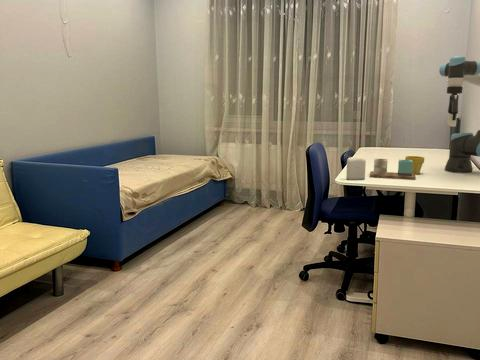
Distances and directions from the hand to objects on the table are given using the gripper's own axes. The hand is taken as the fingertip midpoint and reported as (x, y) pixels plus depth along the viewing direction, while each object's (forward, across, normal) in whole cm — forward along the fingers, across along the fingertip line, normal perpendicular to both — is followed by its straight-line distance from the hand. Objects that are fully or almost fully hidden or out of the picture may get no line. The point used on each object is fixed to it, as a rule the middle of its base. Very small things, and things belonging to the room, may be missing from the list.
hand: (451, 125), depth 240 cm
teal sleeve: (+27, +8, -22) cm, 36 cm away
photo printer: (+29, +22, -48) cm, 60 cm away
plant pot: (+29, -8, -17) cm, 35 cm away
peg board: (+29, +8, -29) cm, 42 cm away
